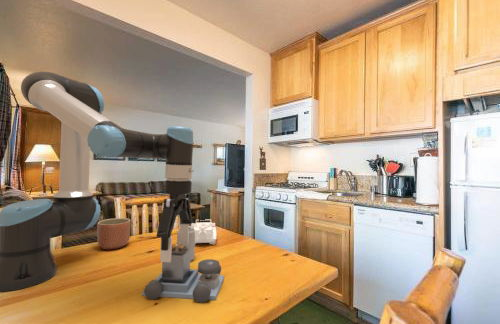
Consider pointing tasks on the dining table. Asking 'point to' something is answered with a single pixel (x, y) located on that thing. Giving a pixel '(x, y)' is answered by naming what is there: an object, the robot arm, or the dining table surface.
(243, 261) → the dining table surface
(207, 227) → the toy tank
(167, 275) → the twin lamp box
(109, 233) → the planter
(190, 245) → the beverage can
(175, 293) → the chassis
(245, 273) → the dining table surface
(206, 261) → the spare wheel
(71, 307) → the dining table surface
